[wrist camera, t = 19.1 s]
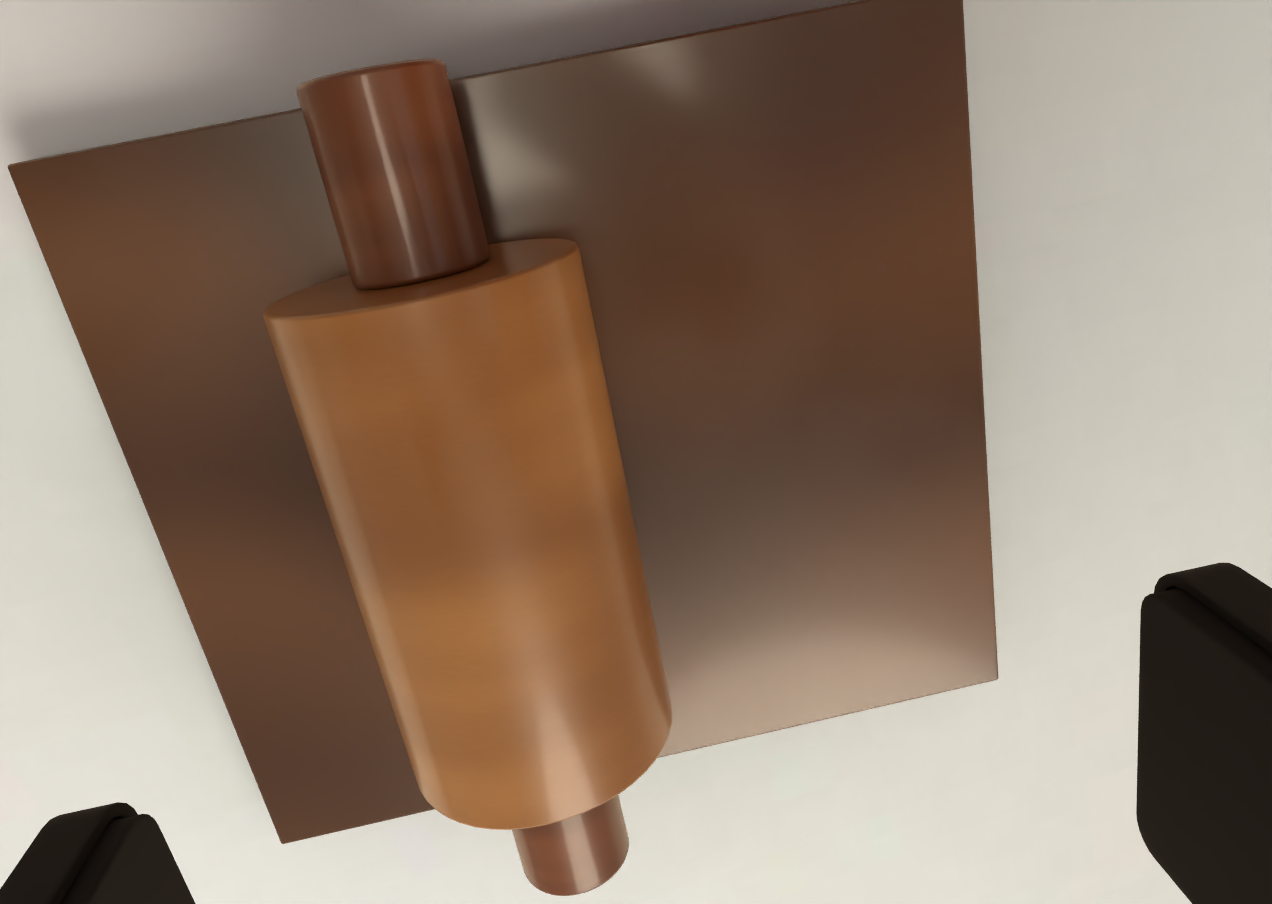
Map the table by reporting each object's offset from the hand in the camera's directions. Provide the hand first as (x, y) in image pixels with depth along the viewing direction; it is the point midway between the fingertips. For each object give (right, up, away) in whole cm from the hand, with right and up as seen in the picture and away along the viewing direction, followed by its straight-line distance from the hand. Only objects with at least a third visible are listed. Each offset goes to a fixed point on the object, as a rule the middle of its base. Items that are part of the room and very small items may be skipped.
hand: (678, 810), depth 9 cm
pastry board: (-2, +3, +11) cm, 11 cm away
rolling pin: (-3, +2, +8) cm, 8 cm away
